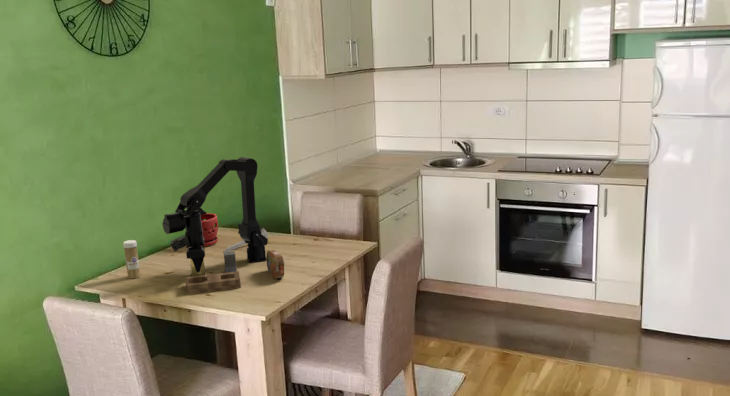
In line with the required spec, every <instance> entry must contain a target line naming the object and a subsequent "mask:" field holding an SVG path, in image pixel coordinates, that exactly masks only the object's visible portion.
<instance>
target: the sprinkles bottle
mask: <svg viewBox="0 0 730 396" xmlns="http://www.w3.org/2000/svg"><path fill="white" fill-rule="evenodd" d="M122 244H123V245H122V246H123V249H124V258H125V259H124V260H125V266H126V267H125V268H126V271H127V279H138V278H139V277H141V271H140V262H139V261H140V260H139V256H138V255H139V254H138V247H137V245H138V244H137V240H134V239H130V240H129V239H128V240H125V241H123V242H122Z"/></svg>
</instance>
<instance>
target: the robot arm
mask: <svg viewBox="0 0 730 396" xmlns="http://www.w3.org/2000/svg"><path fill="white" fill-rule="evenodd" d="M258 165H259V164H258V162H257V160H256V159H254V158H251V157H245V156H240V157H238V158H237V159H234V158H233V159H225V158H224V159H220V160H219V161H218V163H217V164H216V166H215V167H214V168H213V169H211V171H209V172H208V174H207V175H206V176H205V177H204V178H203V179H202V180H201V181H200V182H199V183H198V184H197V185H196V186H194V187H192V188H190V189H189V190H187V191H186V192H185V193H183V194H182V195H181V196H180V199H179V200H180V201H179V203H178V205H177V207H176V208H175V211H174V213H173V212H172V213H165V214H164V218H163V221H162V223H161V225H162V228H163V232H164V233H165V234H166V235H170V234H174V233H179V232H182V231H184V230H185V233H184V234H183V235H181V236H178V237H176V238H174V239H172V240H171V241H170V246H171V249H172V250H173V252H177V251H179V250H181V249H182V248H183V249H184V248H186V249H187V250H186V252H185V253H186V255H185V256H186V259H189V260H190V259H192V261H193V263H194V266H195V269H196V272H200V269H201V266H202V263H203V259H204V260H205V257H206V251H205V250H206V247H205V246H204V245H205V240H204V238H203V231H202V223H201V215H204V214H206V213H207V212H206V211H205V210H204V209H203V208H202V206H203V204H204V203H205V202H206V199H207V197H208V195H209V193H210V192H211V191H212V190H213V189H214V187H216V186H217V185H218V184H219V182H221V181H222V180H223V178H224V177H226V175H228V173H229V172H235V171H236V174H237V177H238V179H239V180H240V190H241V202H242V203H241V204H242V216H243V217H242V221H241V222H239V223H238V224H237V227H238V232H237V234H238V235H239V237H240V238H241V239H242V241H243V240H244V241H245V243H246V244H247V247H246V259H247V260H248V261H249V263H257V262H265V261H266V256H267V253H266V246H267V245H268V242H269V238H268V239H267V238H266V237H264V236H263V235H262V233H261V225H260V223H259V221H258V220H257V213H256V212H257V211H256V209H257V208H256V194H255V192H256V191H255V180H256V177H257V175H258V167H259V166H258ZM266 262H267V261H266Z"/></svg>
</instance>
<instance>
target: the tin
mask: <svg viewBox="0 0 730 396" xmlns="http://www.w3.org/2000/svg"><path fill="white" fill-rule="evenodd" d="M266 268H267V271H268V273H269V274H270V275H271V276H272V277H273V278H274V279H275V280H277V279H282V278H284V276H285V261H284V258H283V255H282V254H280V253H279V252H278V251H277V250H276V249H274V250H267V252H266Z"/></svg>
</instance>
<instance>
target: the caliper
mask: <svg viewBox="0 0 730 396" xmlns="http://www.w3.org/2000/svg"><path fill="white" fill-rule="evenodd" d="M260 229H261V228H260ZM261 233H262V235H263V236H264V237H266V238H267V239H268V240H269V237H268V232H267V230H266V229H265V228H264V227H262V229H261ZM246 244H247V243H245V241H244V240H243V239H242V240H241V241H239V242H237V243H235V244H233V245H230V246H228V247H226V248H225V249H224V250H223V253H224V252H231V251H234V250H235V249H238V248H239V247H242V246H243V245H246Z"/></svg>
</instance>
